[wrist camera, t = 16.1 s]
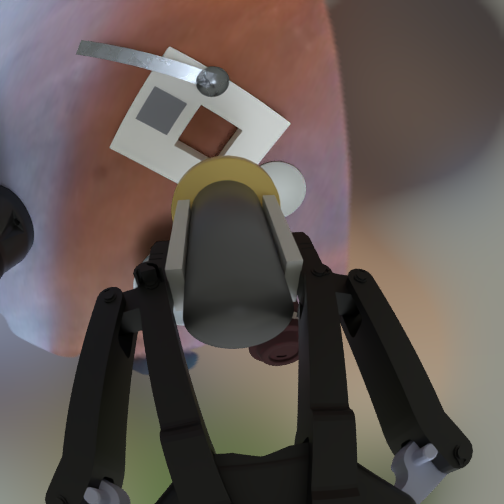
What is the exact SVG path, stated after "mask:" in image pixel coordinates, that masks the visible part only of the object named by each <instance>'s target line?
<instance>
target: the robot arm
mask: <svg viewBox="0 0 504 504" xmlns="http://www.w3.org/2000/svg"><path fill="white" fill-rule="evenodd" d="M262 209H263V212H264V215H265V218H266V221H267V224H268V227H269V230H270V233H271V236H272V239H273V242H274V245H275V248H276V251H277V254H278V257H279V260H280V263H281V266H282V269H283V272H284V275H285V279H286V282H287V285H288V288H289V291H290V294H291V297H292V300H293V302H296V298H297V295H298V298H299V306H298V311H297V316H296V317H298V330H299V369H298V374H299V375H298V417H297V418H298V419H297V432H296V436H295V444H294V445H292V446H288V447H286V448H283V449H281V450H279V451H276V452H273V453H271V454H268V455H266V456H261V457H260V456H251V455H242V454H235V453H227V454H216V453H215V449H214V447H213V444H212V442H211V440H210V437H209V434H208V431H207V428H206V426H205V422H204V420H203V417H202V413H201V410H200V408H199V404H198V401H197V398H196V395H195V392H194V388H193V385H192V382H191V378H190V375H189V371H188V367H187V364H186V360H185V356H184V353H183V349H182V345H181V341H180V337H179V333H178V329H177V325H176V320H175V316H174V313H173V308H175V311H183V299H184V283H185V270H186V257H187V245H188V235H189V225H190V215H191V206H190V199H188V200H178V202H177V207H176V212H175V217H174V222H173V227H172V232H171V237H170V241H160V242H156V243H155V244H154V245H153V246H152V248H151V251H150V255H149V260H148V261H146V262H143V263H141V264H139V265H138V266H137V267H136V268H135V269H134V273H133V274H134V277H135V280H136V283H137V286H138V287H136V288H135V289H132V290H129V291H126V292H123V293H122V291H121V289H119V288H117V287H110V288H107V289H105V290H103V291H102V292H101V293H100V294H99V296H98V297H97V300H96V303H95V306H94V309H93V312H92V316H91V319H90V322H89V325H88V329H87V332H86V335H85V339H84V343H83V346H82V350H81V354H80V358H79V362H78V366H77V371H76V374H75V379H74V384H73V388H72V393H71V398H70V404H69V410H68V415H67V422H66V430H65V437H64V445H63V455H62V458H61V461H60V463H59V465H58V467H57V469H56V471H55V474H54V476H53V479H52V481H51V483H50V486H49V488H48V490H47V493H46V497H45V501H46V504H130V499H129V496H128V495H127V493H126V492H125V491H124V490H123V489H122V484H123V479H124V472H125V451H126V448H125V447H126V430H127V415H128V404H129V394H130V384H131V375H132V368H133V361H134V354H135V347H136V340H137V334H138V331H140V330H142V331H143V339H144V346H145V353H146V359H147V365H148V371H149V376H150V381H151V387H152V392H153V397H154V401H155V405H156V410H157V415H158V418H159V423H160V428H161V431H160V441H161V445H162V449H163V452H164V456H165V459H166V463H167V466H168V469H169V472H170V475H171V479H172V483H171V485H170V486H169V487H168V488H167V490H166V491H165V492H164V493H163V494H162V496H161V497H160V498H159V499H158V501H157V502H156V503H155V504H420V503H421V502H422V501H423V500H424V499H425V498H426V497H427V496H428V495H429V494H430V492H432V490H433V489H434V488H435V487H436V486H437V485H438V484H439V483H440V482H441V481H442V479H443V478H444V477H445V476H446V475H447V474H449V473H450V472H453V471H455V470H458V469H460V468H463V467H465V466H466V465H467V464H468V463H469V462H470V460H471V458H472V453H473V449H472V444H471V443H470V441H469V440H468V438H467V437H466V436H465V435H464V434H463V433H462V431H461V430H460V429H459V428H458V427H457V426H456V425H455V423H454V422H453V421H452V420H451V419H450V418H449V417H448V415H447V414H446V413H445V412H444V410H443V408H442V406H441V404H440V402H439V399H438V397H437V395H436V392H435V390H434V388H433V386H432V384H431V382H430V380H429V377H428V375H427V374H426V371H425V370H424V367H423V365H422V363H421V362H420V359H419V357H418V355H417V354H416V352H415V350H414V348H413V346H412V344H411V342H410V340H409V338H408V337H407V335H406V333H405V331H404V330H403V327H402V326H401V324H400V322H399V320H398V319H397V317H396V315H395V313H394V312H393V310H392V308H391V306H390V305H389V303H388V301H387V300H386V298H385V297H384V295H383V293H382V291H381V290H380V288H379V286H378V285H377V283H376V282H375V280H374V278H373V277H372V276H371V274H370V273H369V272H367V271H365V270H362V269H353V270H351V271H350V272H349V274H348V276H347V275H340V274H335V273H332V271H331V269H330V268H329V267H328V266H326V265H324V264H322V262H321V260H320V258H319V256H318V254H317V252H316V250H315V249H314V246H313V244H312V242H311V240H310V238H309V237H308V236H307V235H306V234H305V233H304V232H293V233H291V231H290V228H289V226H288V224H287V222H286V219H285V217H284V215H283V213H282V210H281V208H280V206H279V204H278V202H277V199H276V197H275V195H263V200H262ZM32 244H33V227H32V222H31V219H30V217H29V214H28V212H27V210H26V208H25V207H24V205H23V204H22V202H21V201H20V200H19V198H18V197H17V196H16V195H15V194H14V193H12V192H11V191H10V190H8V189H7V188H5V187H2V186H0V279H1V277H2V275H3V274H4V273H5V272H7V271H8V270H9V269H11V268H12V267H13V266H15V265H16V264H18V263H19V262H21V261H22V260H23V259H24V258H25V256H26V255H27V253H28V252H29V250H30V249H31V247H32ZM340 324H341V326H342V328H343V331H344V333H345V335H346V338H347V340H348V343H349V345H350V347H351V350H352V352H353V355H354V357H355V360H356V362H357V365H358V367H359V370H360V372H361V375H362V377H363V380H364V382H365V385H366V388H367V390H368V393H369V395H370V398H371V401H372V403H373V406H374V409H375V412H376V414H377V417H378V420H379V422H380V425H381V428H382V431H383V434H384V436H385V439H386V441H387V443H388V445H389V447H390V449H391V451H392V453H393V454H394V455H395V457H394V459H393V462H392V465H391V470H392V471H393V472H394V473H395V476H396V482H395V485H394V486H393V485H392V484H390V483H388V482H387V481H385V480H384V479H382V478H380V477H379V476H377V475H375V474H374V473H372V472H371V471H369V470H368V469H366V468H365V467H363V466H362V465H360V464H359V463H357V442H356V423H355V415H354V412H353V410H351V409H350V408H349V404H348V391H347V380H346V370H345V359H344V350H343V342H342V334H341V326H340Z"/></svg>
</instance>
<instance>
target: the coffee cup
mask: <svg viewBox="0 0 504 504" xmlns="http://www.w3.org/2000/svg"><path fill="white" fill-rule="evenodd" d="M293 305H294V313H293V317H292V319H291V321H290V323H289V324H288V326H287V327H286V328H285V329H284V330H283V331H282V332H281V333H280V334H278V335H277V336H276V337H274V338H272V339H270V340H268V341H266V342H264V343H262V344H259V345H255V346H251V347H249V352H250V354H251V356H252V357H254V358H255V359H257V360H259V361H262V362H264V363H266V364H268V365H272V366H280V365H287V364H290V363H293V362H295V361H297V360H299V330H298V317H296V316H297V311H298V306H299V304H298V302H297V299H296V302H293Z"/></svg>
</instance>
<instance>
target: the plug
mask: <svg viewBox="0 0 504 504" xmlns="http://www.w3.org/2000/svg"><path fill="white" fill-rule="evenodd" d="M263 195H275V197H276V199H277V202H278V204H279V206H280V198H279V194H278V191H277V189H276V187H275V185H274V183H273V181H272V179H271V177H270V176H269V175H268V173H267V172H266V171H265V170H264V169H263V168H262V167H260V166H259V165H258V164H256V163H254V162H252V161H251V160H248V159H245V158H242V157H238V156H230V155H226V156H216V157H212V158H208V159H205V160H203V161H201V162H199V163H197V164H196V165H194V166H193V167H191V168H190V169H189V170H188V171H187V172H186V173H185V174H184V175H183V176H182V178H181V179H180V181H179V182H178V184H177V186H176V189H175V192H174V196H173V200H172V205H171V214H172V220H173V222H174V217H175V212H176V207H177V202H178V200H188V199H190V206H191V215H190V225H189V235H188V245H187V257H186V270H185V283H184V299H183V322H184V325H185V327H186V329H187V330H188V332H189V333H190V334H191V335H192V336H193V337H194V338H196V339H197V340H199V341H201V342H203V343H205V344H208V345H211V346H214V347H220V348H228V349H237V348H246V347H251V346H255V345H259V344H262V343H264V342H266V341H268V340H270V339H272V338H274V337H276V336H277V335H278V334H280V333H281V332H282V331H283V330H284V329H285V328H286V327H287V326H288V324H289V323H290V321H291V319H292V317H293V313H294V305H293V300H292V297H291V294H290V291H289V288H288V285H287V282H286V279H285V275H284V272H283V269H282V266H281V263H280V260H279V257H278V254H277V251H276V248H275V245H274V242H273V239H272V236H271V233H270V230H269V227H268V224H267V221H266V218H265V215H264V212H263V209H262V200H263ZM280 208H281V206H280Z"/></svg>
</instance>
